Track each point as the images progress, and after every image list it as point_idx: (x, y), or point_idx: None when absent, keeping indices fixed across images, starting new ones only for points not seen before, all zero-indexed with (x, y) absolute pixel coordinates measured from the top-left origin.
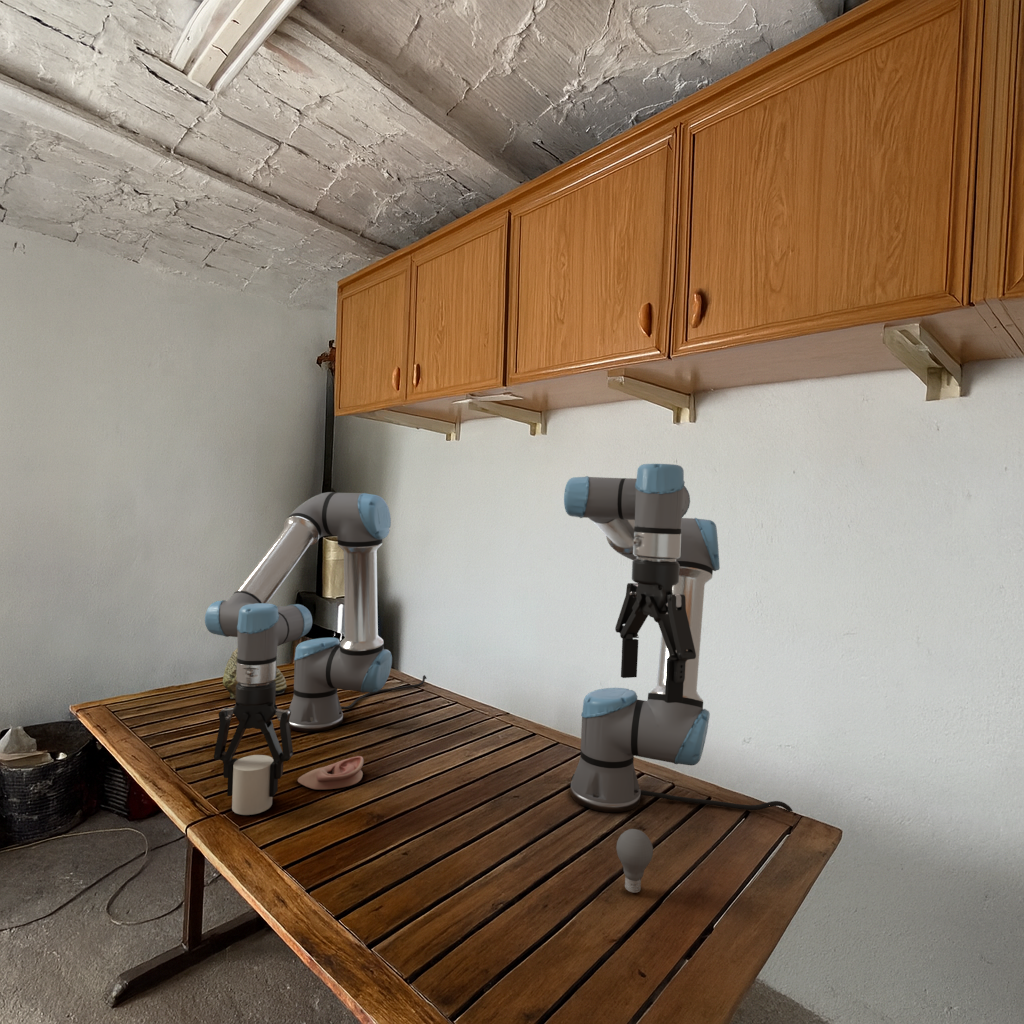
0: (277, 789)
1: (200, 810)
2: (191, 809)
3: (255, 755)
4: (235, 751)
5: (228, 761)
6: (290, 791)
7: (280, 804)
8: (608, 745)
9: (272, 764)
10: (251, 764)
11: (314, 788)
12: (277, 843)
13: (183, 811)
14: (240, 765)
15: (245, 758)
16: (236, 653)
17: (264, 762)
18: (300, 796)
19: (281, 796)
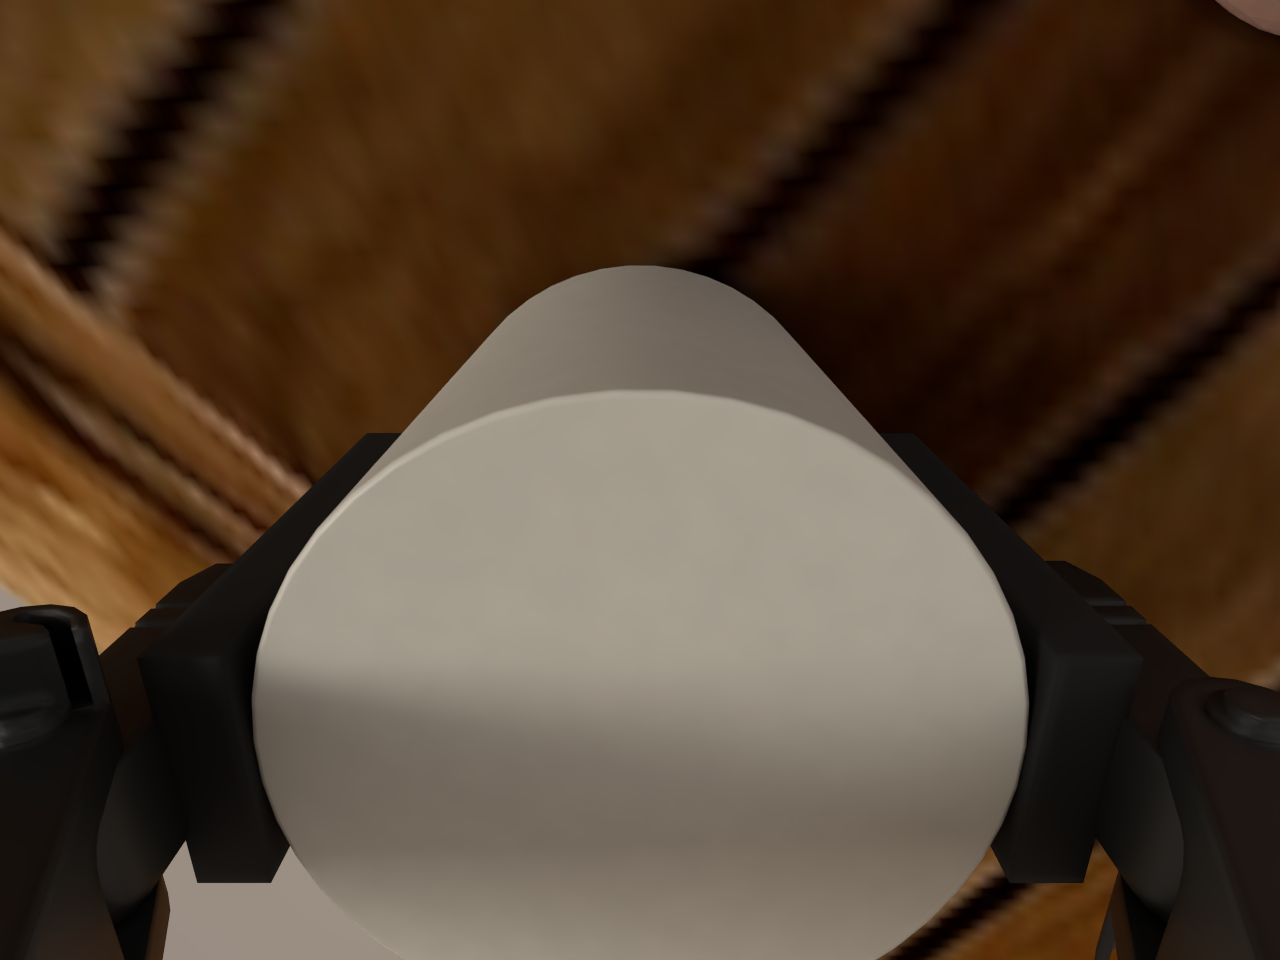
0: (917, 440)
1: (193, 535)
2: (100, 521)
3: (542, 443)
4: (84, 816)
5: (166, 905)
6: (960, 68)
7: (903, 393)
8: None
9: (1048, 874)
10: (632, 845)
11: (1276, 30)
12: (989, 930)
13: (55, 557)
14: (444, 879)
15: (385, 604)
16: None
17: (857, 758)
18: (1092, 200)
19: (878, 210)
